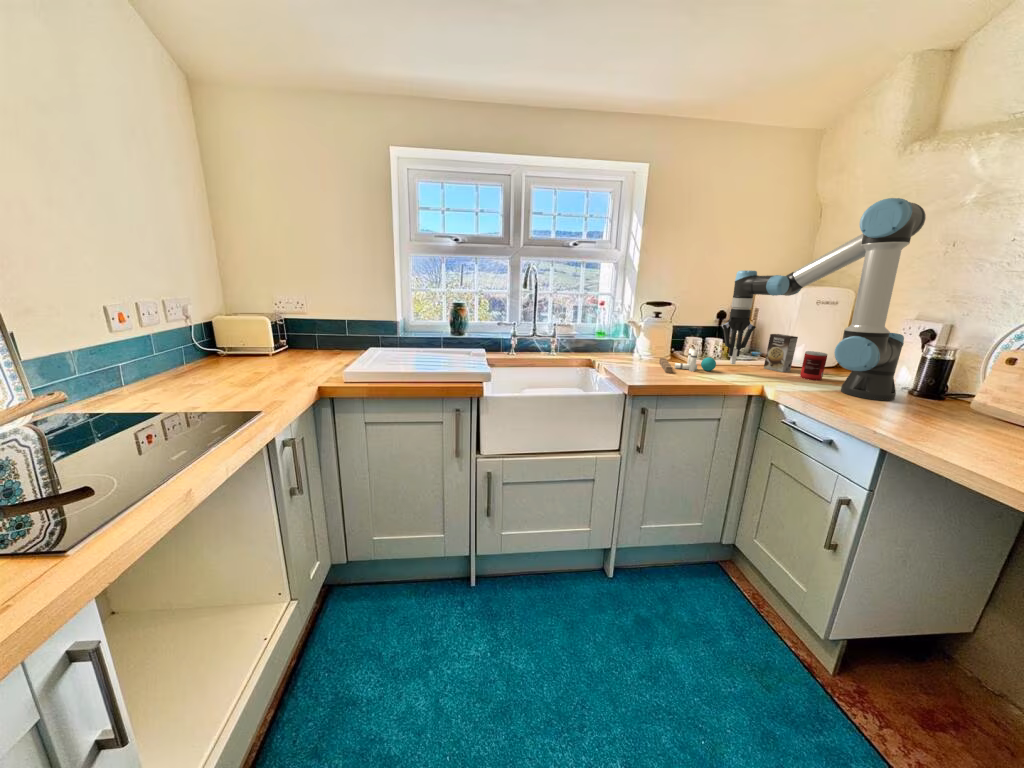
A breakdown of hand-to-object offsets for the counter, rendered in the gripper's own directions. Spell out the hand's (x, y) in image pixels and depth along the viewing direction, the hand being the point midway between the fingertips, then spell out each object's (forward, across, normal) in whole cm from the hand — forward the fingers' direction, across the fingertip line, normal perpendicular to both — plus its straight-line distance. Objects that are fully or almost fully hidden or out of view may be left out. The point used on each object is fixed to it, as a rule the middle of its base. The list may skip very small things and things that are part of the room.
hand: (732, 363), depth 178 cm
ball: (+1, +9, -1) cm, 9 cm away
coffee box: (+4, -24, -15) cm, 29 cm away
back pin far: (+4, +17, -3) cm, 17 cm away
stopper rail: (+4, +27, 0) cm, 28 cm away
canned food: (+5, -32, -1) cm, 32 cm away
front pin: (+3, +14, -1) cm, 14 cm away
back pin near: (+4, +17, +2) cm, 17 cm away
